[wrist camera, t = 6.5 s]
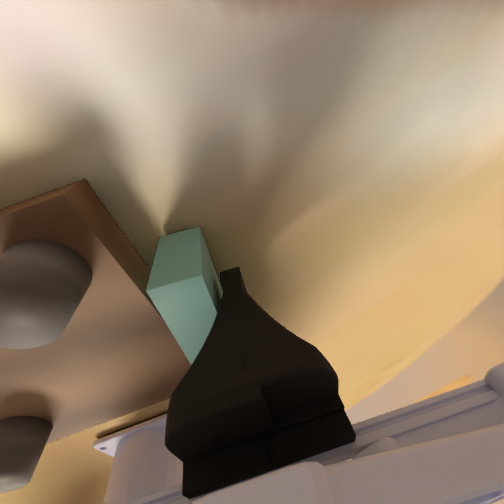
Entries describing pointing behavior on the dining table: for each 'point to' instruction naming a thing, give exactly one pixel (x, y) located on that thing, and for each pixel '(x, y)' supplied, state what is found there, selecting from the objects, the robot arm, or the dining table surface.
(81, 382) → the stool seat
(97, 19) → the dining table surface
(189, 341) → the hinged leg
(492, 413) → the robot arm
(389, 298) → the dining table surface
